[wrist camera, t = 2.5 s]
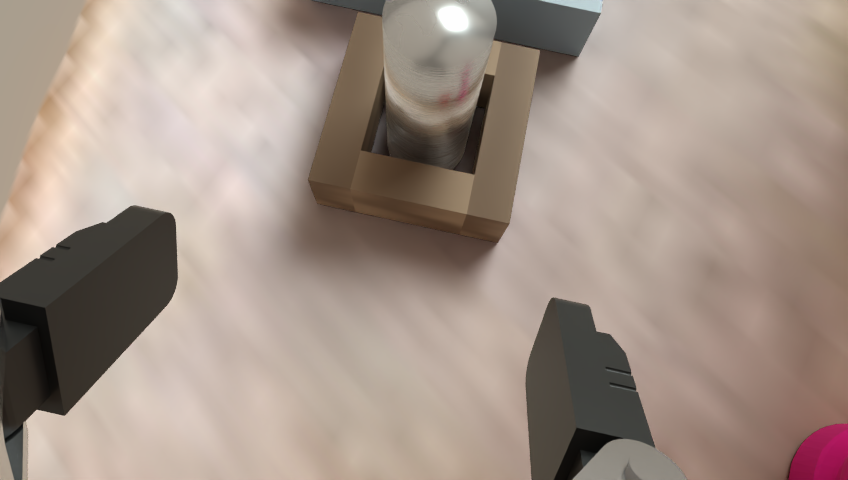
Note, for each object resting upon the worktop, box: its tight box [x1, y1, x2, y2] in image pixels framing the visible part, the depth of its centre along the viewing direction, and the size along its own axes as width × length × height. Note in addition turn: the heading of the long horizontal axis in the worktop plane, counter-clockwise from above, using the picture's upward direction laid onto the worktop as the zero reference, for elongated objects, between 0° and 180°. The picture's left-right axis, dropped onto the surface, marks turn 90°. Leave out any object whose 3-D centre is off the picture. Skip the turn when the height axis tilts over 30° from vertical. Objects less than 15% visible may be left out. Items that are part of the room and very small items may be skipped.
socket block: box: [308, 12, 540, 243], centre depth 27 cm, size 9×9×3 cm
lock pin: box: [382, 0, 497, 170], centre depth 24 cm, size 4×4×10 cm
